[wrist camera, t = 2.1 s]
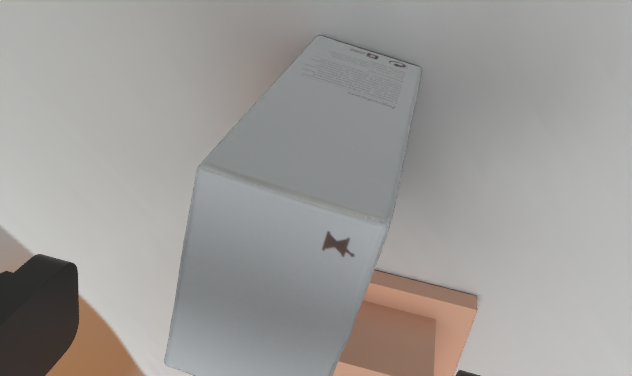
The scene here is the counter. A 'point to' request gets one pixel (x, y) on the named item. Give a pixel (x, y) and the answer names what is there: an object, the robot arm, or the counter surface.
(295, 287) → the skincare box
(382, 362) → the tan open box
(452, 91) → the counter surface
